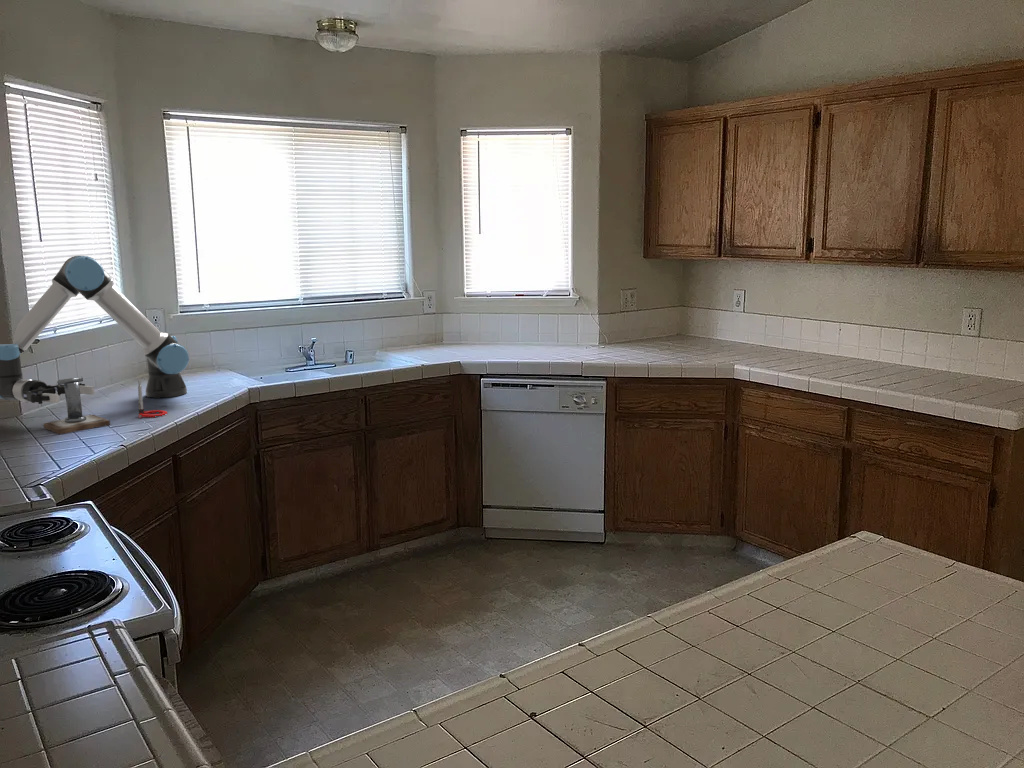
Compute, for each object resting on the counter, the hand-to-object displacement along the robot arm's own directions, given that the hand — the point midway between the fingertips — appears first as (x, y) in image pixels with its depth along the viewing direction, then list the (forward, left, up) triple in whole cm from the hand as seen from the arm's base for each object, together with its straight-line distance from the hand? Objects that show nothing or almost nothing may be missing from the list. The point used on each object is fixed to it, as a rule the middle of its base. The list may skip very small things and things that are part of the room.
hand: (75, 394), depth 276 cm
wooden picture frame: (0, -1, -11) cm, 11 cm away
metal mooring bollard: (+1, -2, -9) cm, 9 cm away
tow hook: (-24, +3, -11) cm, 26 cm away
